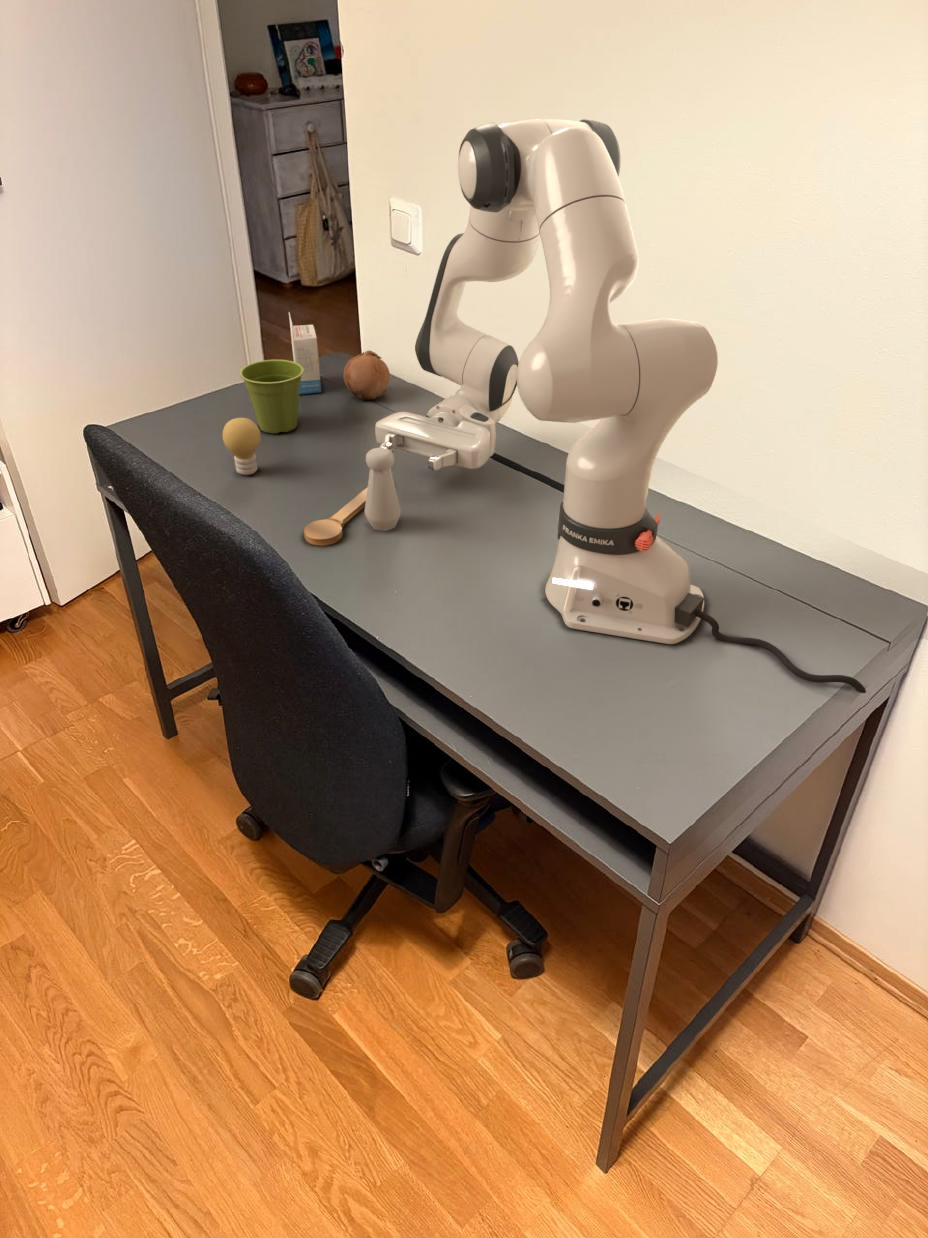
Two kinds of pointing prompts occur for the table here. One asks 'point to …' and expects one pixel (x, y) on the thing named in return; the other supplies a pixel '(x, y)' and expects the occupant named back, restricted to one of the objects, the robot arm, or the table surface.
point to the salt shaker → (381, 491)
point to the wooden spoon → (334, 523)
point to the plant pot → (274, 393)
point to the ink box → (306, 357)
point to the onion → (366, 376)
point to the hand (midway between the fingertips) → (407, 458)
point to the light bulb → (242, 443)
